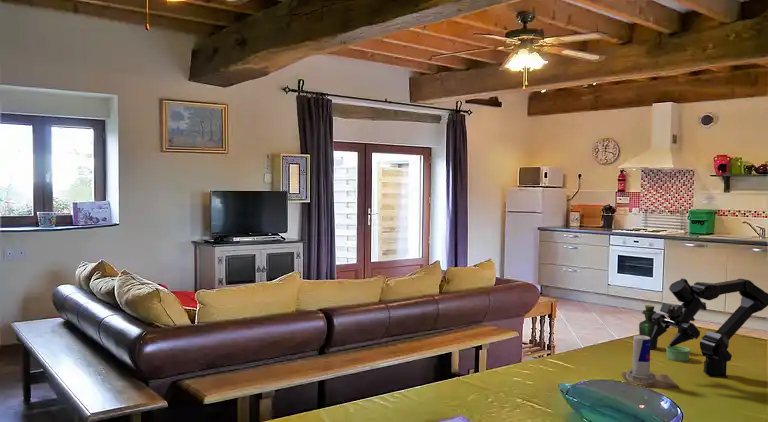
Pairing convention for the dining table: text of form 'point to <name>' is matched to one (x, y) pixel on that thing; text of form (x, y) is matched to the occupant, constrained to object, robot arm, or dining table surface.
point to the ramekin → (678, 353)
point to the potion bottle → (648, 325)
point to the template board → (657, 383)
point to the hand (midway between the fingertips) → (660, 342)
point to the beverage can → (641, 356)
